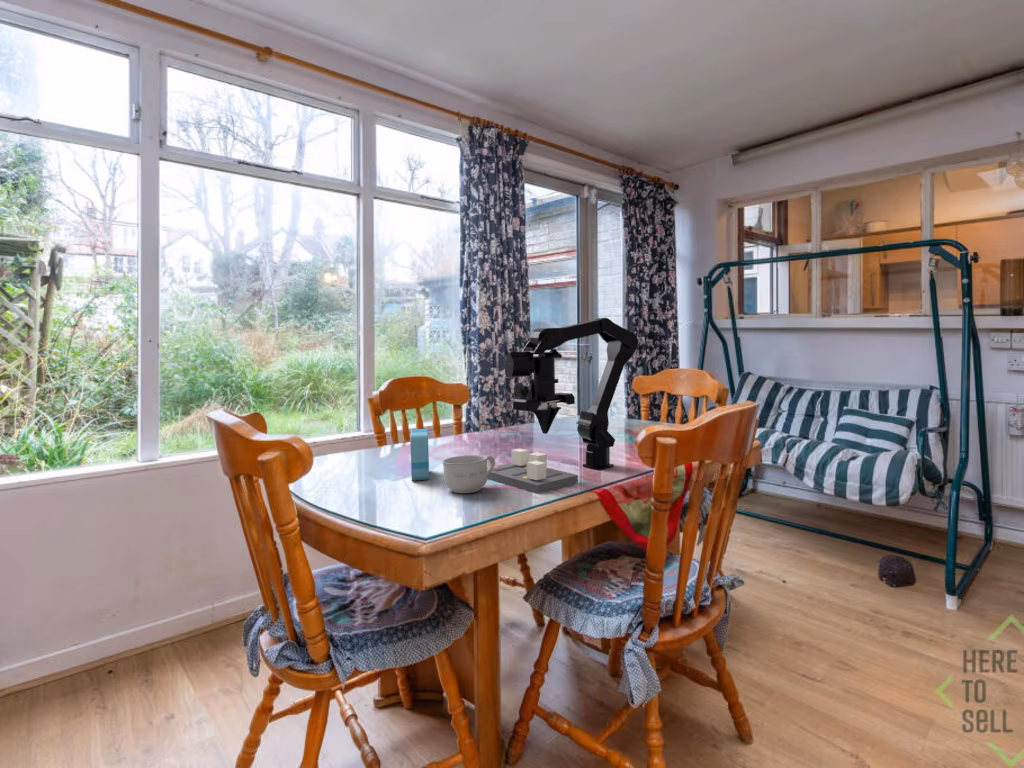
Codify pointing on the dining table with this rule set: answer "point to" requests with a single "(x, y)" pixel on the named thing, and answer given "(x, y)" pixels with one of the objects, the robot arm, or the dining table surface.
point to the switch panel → (519, 479)
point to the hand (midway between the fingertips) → (545, 433)
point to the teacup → (467, 472)
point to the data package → (419, 454)
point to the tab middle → (538, 457)
